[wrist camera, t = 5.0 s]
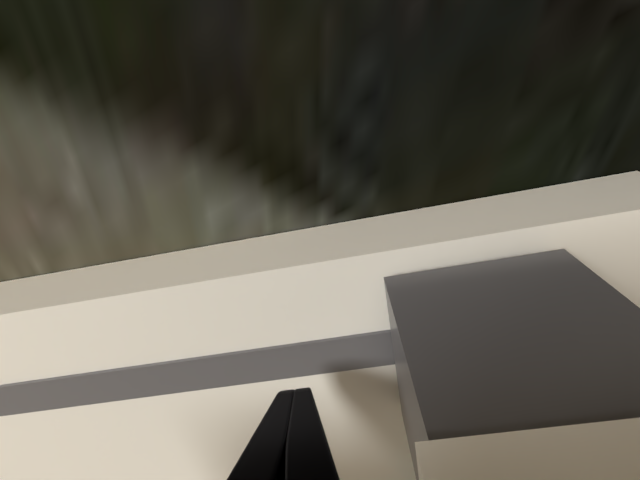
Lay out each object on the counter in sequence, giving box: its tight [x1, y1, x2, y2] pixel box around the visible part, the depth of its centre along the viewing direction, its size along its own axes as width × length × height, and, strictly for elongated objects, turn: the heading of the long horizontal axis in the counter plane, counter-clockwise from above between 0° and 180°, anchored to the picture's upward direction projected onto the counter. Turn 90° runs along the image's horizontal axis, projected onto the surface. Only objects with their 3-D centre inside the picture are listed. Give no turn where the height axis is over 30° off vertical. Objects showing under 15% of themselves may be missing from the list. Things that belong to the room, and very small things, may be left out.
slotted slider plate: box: [0, 171, 640, 480], centre depth 13 cm, size 23×18×2 cm
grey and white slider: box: [384, 249, 640, 480], centre depth 7 cm, size 4×5×5 cm
